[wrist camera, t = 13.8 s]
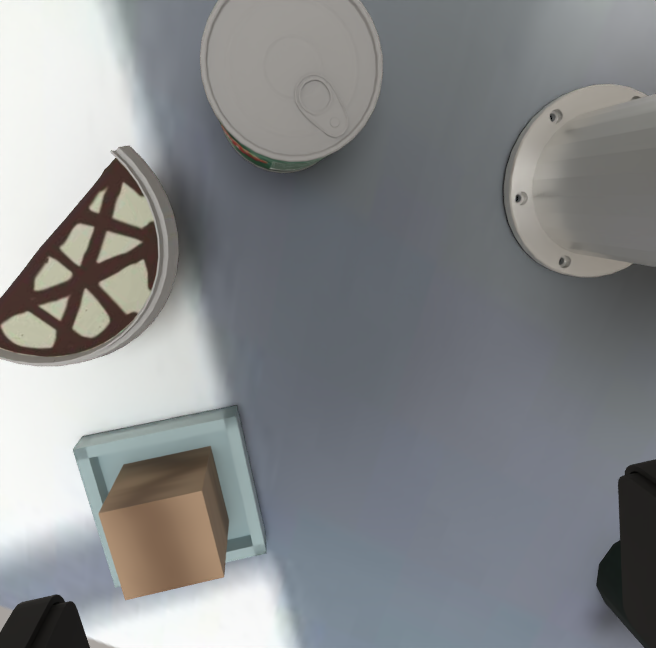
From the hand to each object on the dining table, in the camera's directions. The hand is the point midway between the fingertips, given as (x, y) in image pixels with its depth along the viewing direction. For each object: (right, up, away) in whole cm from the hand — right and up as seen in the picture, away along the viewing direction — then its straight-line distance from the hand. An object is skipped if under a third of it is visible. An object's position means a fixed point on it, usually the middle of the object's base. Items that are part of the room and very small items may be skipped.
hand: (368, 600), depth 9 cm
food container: (-13, +8, +26) cm, 30 cm away
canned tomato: (-4, +18, +25) cm, 31 cm away
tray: (-11, -7, +29) cm, 32 cm away
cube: (-11, -7, +29) cm, 32 cm away
